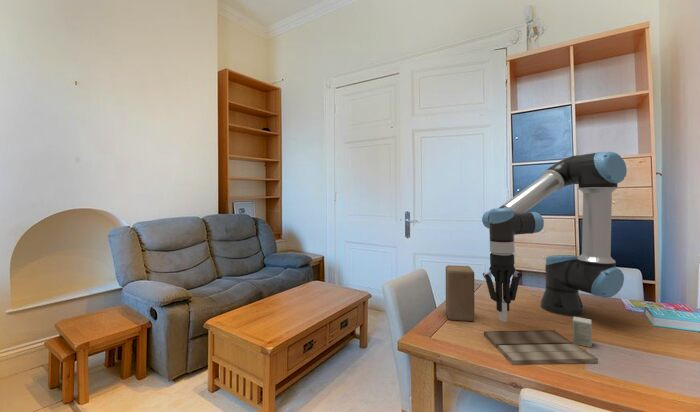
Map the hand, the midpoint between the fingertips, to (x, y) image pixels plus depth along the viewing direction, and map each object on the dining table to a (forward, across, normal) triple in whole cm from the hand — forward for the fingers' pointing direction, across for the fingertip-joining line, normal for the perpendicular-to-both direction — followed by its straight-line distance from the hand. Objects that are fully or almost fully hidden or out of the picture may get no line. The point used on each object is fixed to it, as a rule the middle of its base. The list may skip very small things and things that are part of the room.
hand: (503, 320), depth 108 cm
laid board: (+6, -6, +13) cm, 16 cm away
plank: (+6, -6, +3) cm, 9 cm away
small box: (+7, -23, +6) cm, 25 cm away
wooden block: (+6, +9, -18) cm, 21 cm away
